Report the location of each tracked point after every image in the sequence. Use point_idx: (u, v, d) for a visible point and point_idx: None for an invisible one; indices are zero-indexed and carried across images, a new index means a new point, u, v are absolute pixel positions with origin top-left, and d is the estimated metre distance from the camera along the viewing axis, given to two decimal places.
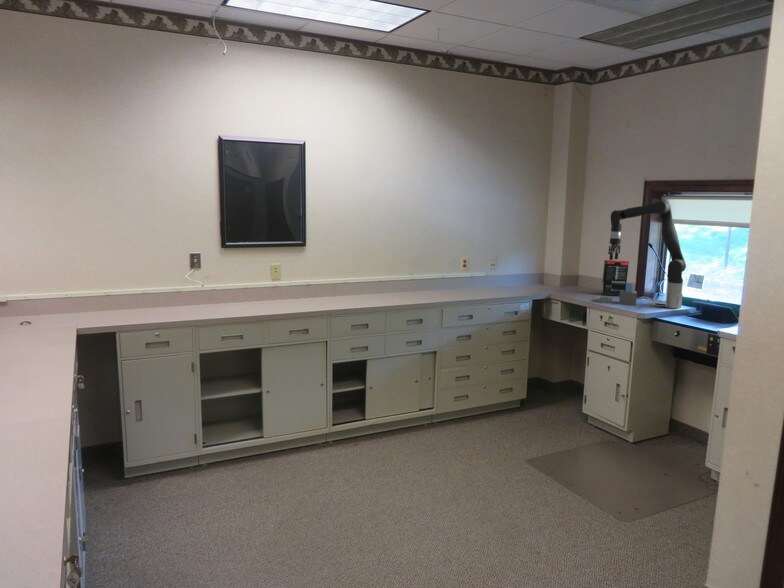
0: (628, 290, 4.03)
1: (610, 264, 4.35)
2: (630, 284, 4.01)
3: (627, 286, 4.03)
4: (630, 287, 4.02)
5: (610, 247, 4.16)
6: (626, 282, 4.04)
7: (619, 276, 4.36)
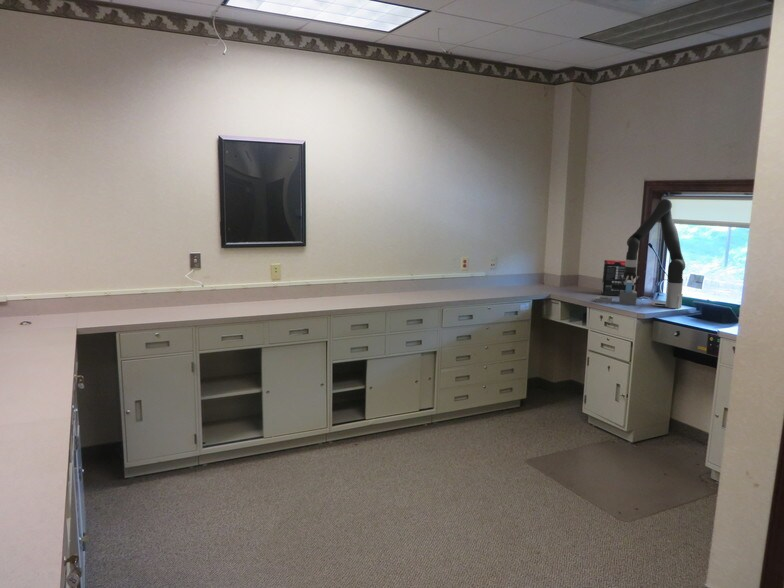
0: (628, 290, 4.03)
1: (610, 264, 4.35)
2: (630, 284, 4.01)
3: (627, 286, 4.03)
4: (630, 287, 4.02)
5: (639, 278, 4.01)
6: (626, 282, 4.04)
7: (619, 276, 4.36)
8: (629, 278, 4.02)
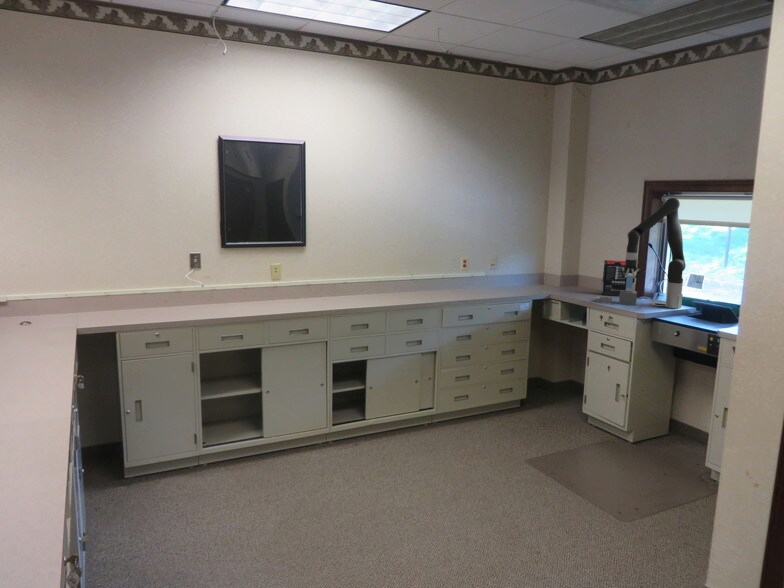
0: (629, 283, 4.02)
1: (610, 264, 4.35)
2: (631, 277, 4.01)
3: (627, 279, 4.02)
4: (631, 280, 4.01)
5: None
6: (627, 275, 4.03)
7: (619, 276, 4.36)
8: (630, 271, 4.01)
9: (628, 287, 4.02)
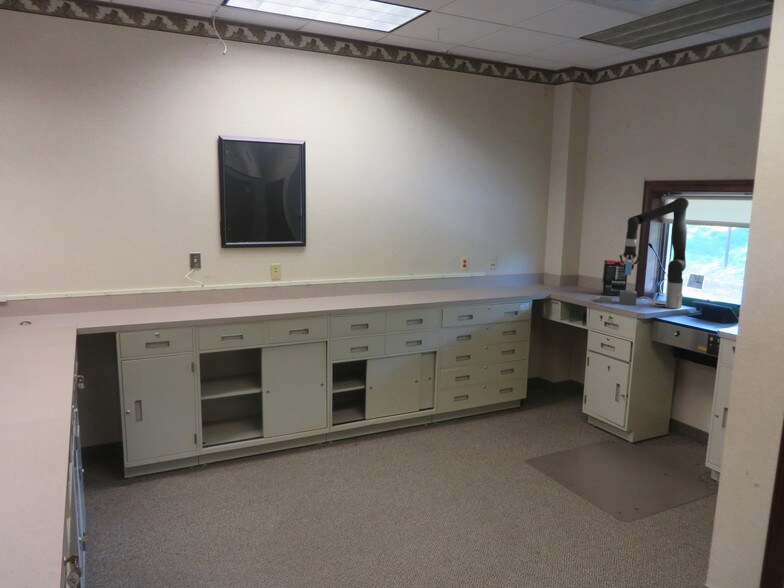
0: (628, 269, 4.01)
1: (610, 264, 4.35)
2: (630, 263, 4.00)
3: (626, 265, 4.01)
4: (630, 266, 4.00)
5: (639, 257, 3.99)
6: None
7: (619, 276, 4.36)
8: (629, 257, 4.00)
9: (627, 273, 4.01)
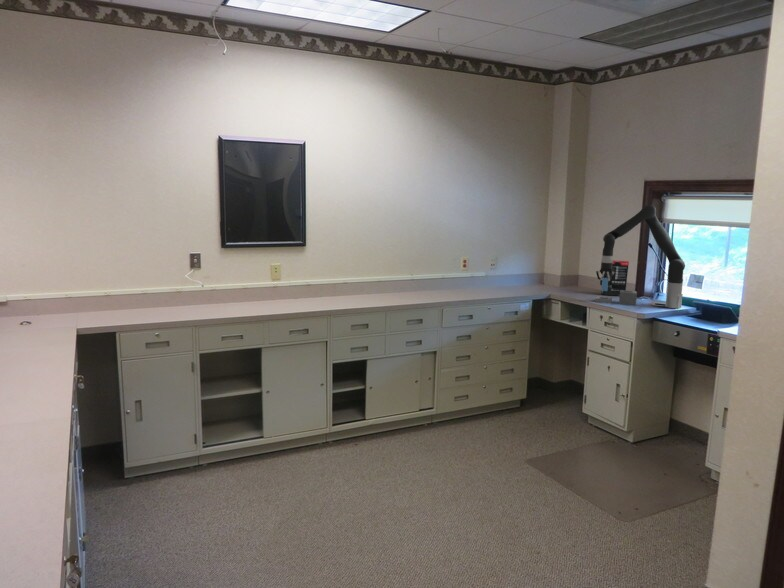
0: (604, 285, 4.08)
1: None
2: (606, 280, 4.07)
3: (603, 281, 4.08)
4: (606, 283, 4.08)
5: None
6: (602, 278, 4.10)
7: (619, 276, 4.36)
8: (605, 274, 4.08)
9: (603, 289, 4.09)
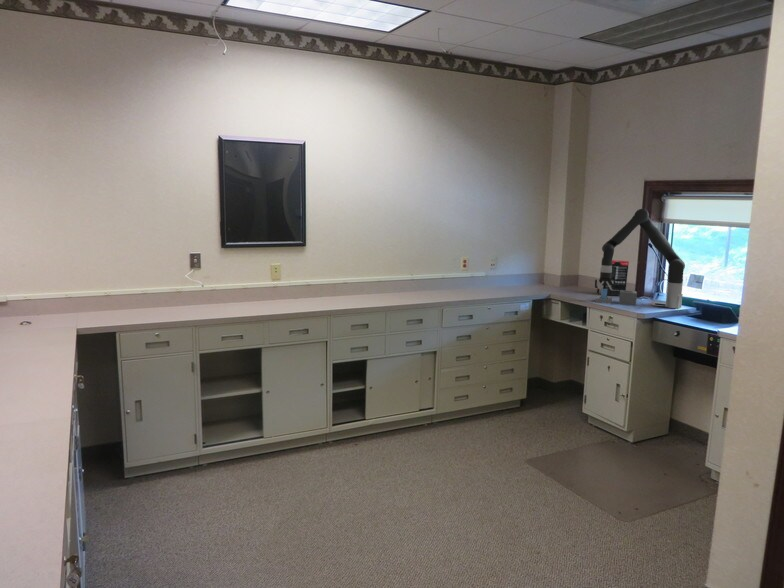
0: (603, 296, 4.09)
1: None
2: (605, 291, 4.08)
3: (602, 292, 4.09)
4: (605, 294, 4.09)
5: None
6: (601, 289, 4.11)
7: (619, 276, 4.36)
8: (604, 284, 4.09)
9: None
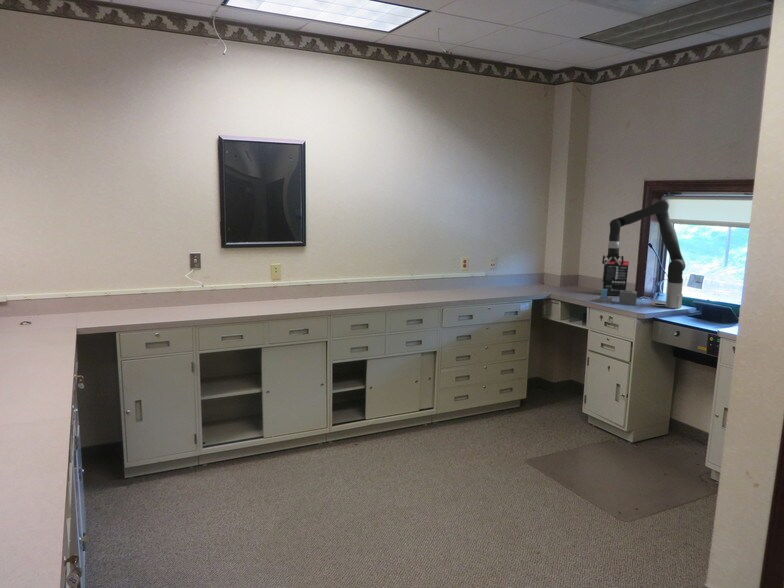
0: (603, 296, 4.09)
1: (610, 264, 4.35)
2: (605, 291, 4.08)
3: (602, 292, 4.09)
4: (605, 294, 4.09)
5: None
6: (601, 289, 4.11)
7: (619, 276, 4.36)
8: (611, 260, 4.06)
9: None
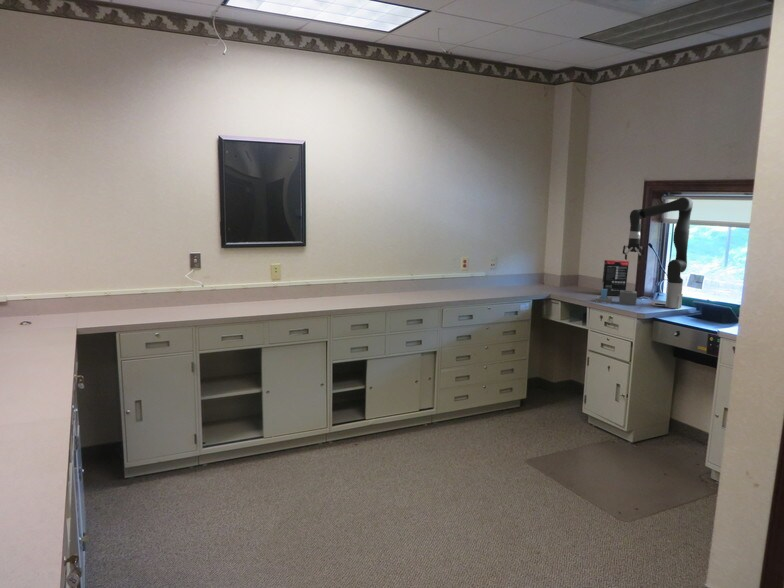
0: (603, 296, 4.09)
1: (610, 264, 4.35)
2: (605, 291, 4.08)
3: (602, 292, 4.09)
4: (605, 294, 4.09)
5: None
6: (601, 289, 4.11)
7: (619, 276, 4.36)
8: (632, 250, 4.08)
9: None
